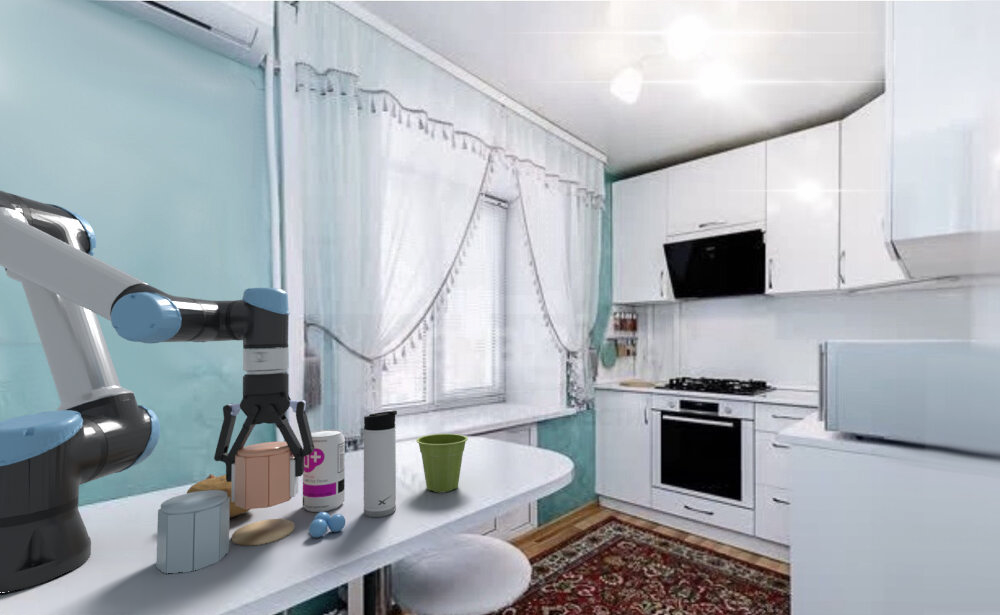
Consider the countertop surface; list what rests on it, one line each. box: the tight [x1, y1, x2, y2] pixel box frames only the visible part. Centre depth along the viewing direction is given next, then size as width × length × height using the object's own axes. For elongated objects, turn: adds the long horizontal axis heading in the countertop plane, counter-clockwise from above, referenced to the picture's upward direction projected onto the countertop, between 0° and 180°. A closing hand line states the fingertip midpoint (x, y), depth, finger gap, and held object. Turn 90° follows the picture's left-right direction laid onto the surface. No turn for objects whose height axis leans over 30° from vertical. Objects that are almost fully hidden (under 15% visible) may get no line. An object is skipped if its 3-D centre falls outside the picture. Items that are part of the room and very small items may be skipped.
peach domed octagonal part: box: [235, 441, 294, 510], centre depth 84 cm, size 9×9×9 cm
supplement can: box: [302, 429, 346, 513], centre depth 97 cm, size 8×8×15 cm
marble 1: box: [312, 511, 332, 528], centre depth 85 cm, size 3×3×3 cm
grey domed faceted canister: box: [155, 490, 230, 575], centre depth 74 cm, size 9×9×9 cm
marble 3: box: [327, 513, 346, 533], centre depth 83 cm, size 3×3×3 cm
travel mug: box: [363, 410, 398, 518], centre depth 93 cm, size 6×7×20 cm
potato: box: [186, 474, 252, 519], centre depth 91 cm, size 10×14×8 cm
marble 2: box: [308, 519, 328, 538], centre depth 81 cm, size 3×3×3 cm
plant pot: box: [416, 433, 469, 493], centre depth 107 cm, size 12×12×11 cm
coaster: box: [231, 518, 295, 547], centre depth 83 cm, size 10×10×1 cm
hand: (265, 496), depth 83 cm, fingers closed on peach domed octagonal part, 9 cm apart
